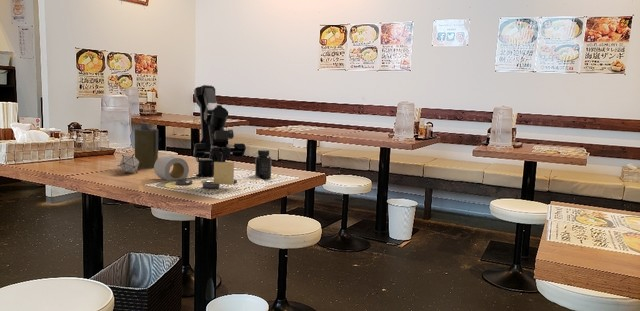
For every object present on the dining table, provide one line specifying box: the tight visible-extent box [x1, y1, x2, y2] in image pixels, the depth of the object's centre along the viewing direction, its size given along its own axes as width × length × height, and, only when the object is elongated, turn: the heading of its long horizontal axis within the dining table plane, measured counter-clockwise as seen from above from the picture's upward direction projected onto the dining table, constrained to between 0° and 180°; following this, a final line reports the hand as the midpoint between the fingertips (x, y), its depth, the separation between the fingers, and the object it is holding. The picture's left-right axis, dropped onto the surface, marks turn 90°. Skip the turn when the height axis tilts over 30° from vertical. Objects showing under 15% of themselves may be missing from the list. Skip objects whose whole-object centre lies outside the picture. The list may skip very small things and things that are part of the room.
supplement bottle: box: [254, 149, 272, 180], centre depth 210 cm, size 7×7×12 cm
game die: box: [117, 153, 141, 175], centre depth 207 cm, size 9×8×10 cm
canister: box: [133, 122, 159, 169], centre depth 224 cm, size 11×10×20 cm
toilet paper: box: [153, 154, 190, 181], centre depth 194 cm, size 10×10×10 cm
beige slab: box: [202, 161, 235, 190], centre depth 178 cm, size 11×6×10 cm, turn 95°
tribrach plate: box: [175, 178, 238, 186], centre depth 186 cm, size 18×20×2 cm
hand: (222, 168), depth 179 cm, fingers closed, pressing on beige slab
